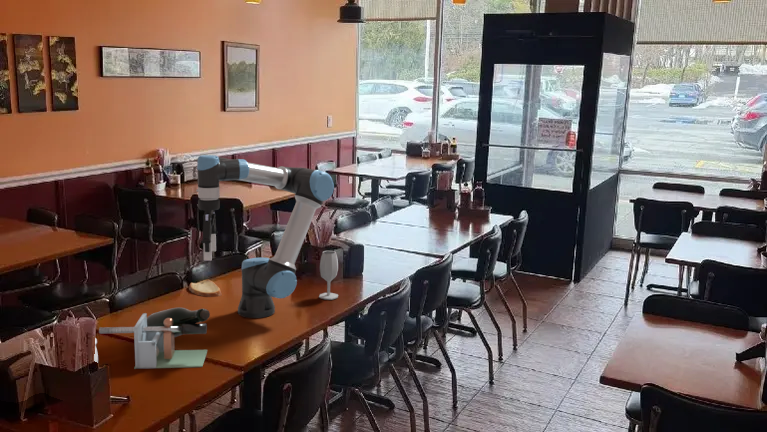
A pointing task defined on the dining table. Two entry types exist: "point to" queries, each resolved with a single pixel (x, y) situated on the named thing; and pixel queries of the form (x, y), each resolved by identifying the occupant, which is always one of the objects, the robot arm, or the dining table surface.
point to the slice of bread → (205, 288)
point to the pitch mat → (181, 359)
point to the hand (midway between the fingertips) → (210, 255)
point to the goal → (146, 345)
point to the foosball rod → (168, 333)
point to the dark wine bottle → (177, 317)
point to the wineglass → (328, 272)
